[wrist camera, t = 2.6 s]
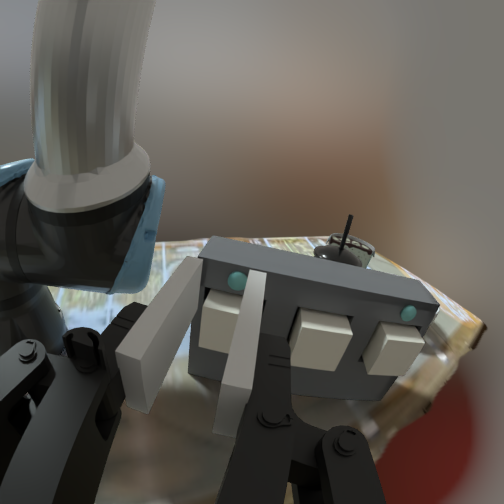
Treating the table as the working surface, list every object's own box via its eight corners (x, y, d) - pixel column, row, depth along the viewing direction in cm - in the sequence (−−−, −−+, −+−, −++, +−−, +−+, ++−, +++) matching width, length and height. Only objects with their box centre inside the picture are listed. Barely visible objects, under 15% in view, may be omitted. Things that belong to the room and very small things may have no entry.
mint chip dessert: (360, 275, 69) (372, 241, 65) (363, 286, 64) (376, 249, 60) (317, 264, 71) (327, 228, 67) (316, 273, 65) (328, 235, 62)
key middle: (334, 371, 25) (352, 334, 23) (287, 365, 25) (302, 326, 24) (329, 346, 29) (345, 311, 27) (287, 340, 29) (300, 303, 27)
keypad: (380, 402, 30) (441, 306, 24) (187, 375, 30) (196, 257, 24) (371, 371, 36) (419, 280, 30) (199, 343, 36) (212, 235, 30)
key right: (403, 376, 25) (425, 343, 23) (367, 374, 25) (388, 339, 23) (394, 354, 29) (412, 322, 27) (360, 350, 29) (377, 316, 27)
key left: (248, 357, 26) (258, 318, 24) (198, 346, 26) (202, 306, 24) (252, 333, 29) (261, 295, 27) (207, 323, 29) (212, 284, 27)
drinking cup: (341, 340, 42) (386, 227, 35) (303, 346, 40) (346, 221, 32) (320, 314, 49) (354, 210, 41) (283, 317, 46) (315, 203, 39)
